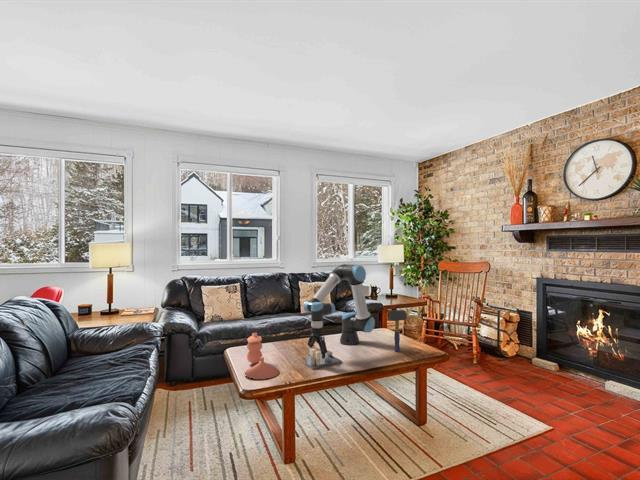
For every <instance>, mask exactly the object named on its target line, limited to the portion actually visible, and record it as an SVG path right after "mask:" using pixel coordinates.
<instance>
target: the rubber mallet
mask: <svg viewBox="0 0 640 480" xmlns="http://www.w3.org/2000/svg"><path fill="white" fill-rule="evenodd" d="M407 316H408V315H407V311H406V310H403V309H394V310H388V312H387V319H388V321H390V322H394V323H395V324H394V328H395V329H394V336H393V337H394V339H393V340H394V349H393V351H394V353H399V352H401V349H400V340H401V336H400V331H399V330H400V323H399V321H405V320H406V319H407Z"/></svg>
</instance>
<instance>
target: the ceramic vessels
mask: <svg viewBox="0 0 640 480" xmlns="http://www.w3.org/2000/svg"><path fill="white" fill-rule="evenodd" d="M262 341H263V340H262V337H261V336H260V335H258V332H253V333H251V336H249V337H248V338H247V342H248V343H247V344H246V348H247V350H248V352H247V354H246V359H247V361H248V362H249V363H250V364H255V365H253V366H251V367H250V368H248V369H247V370H245V371H246V372H244V373H245V375H246V376H247V377H246V376H245V375H244V376H245V377H246V378H248V377H249V378H248V379H251V378H253V379H252V380H266V379H267V378H268V379H272V378H274V377H277V376H278V375H279V374H280V369H279V368H277V367H275V366H274V365H272V364H270V363H267V362H265V361H264V360H265V357H264V356H263V352H262V351H261V350H262V349H263V342H262Z"/></svg>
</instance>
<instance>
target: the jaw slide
mask: <svg viewBox="0 0 640 480" xmlns="http://www.w3.org/2000/svg"><path fill="white" fill-rule="evenodd" d="M334 357H335V356H334V355H333V352H332V351H331V350H327V353H325V360H326V361H328V362H329V361H332V359H333V358H334Z"/></svg>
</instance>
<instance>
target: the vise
mask: <svg viewBox="0 0 640 480" xmlns="http://www.w3.org/2000/svg"><path fill="white" fill-rule="evenodd" d="M339 364H343V360H342V359H340V358H338V357H336V356H334V358H333V359H332V361H329V362H328V361H326V360H325V363H324V364H322V365H318V366H317V365H315V356H314V355H312V354H310V353H308V354H306V361H305V362H304V365H305V366H306V367H308V368H309V369H311V370H318V369H322V368H326V367H330V366H335V365H339Z"/></svg>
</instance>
